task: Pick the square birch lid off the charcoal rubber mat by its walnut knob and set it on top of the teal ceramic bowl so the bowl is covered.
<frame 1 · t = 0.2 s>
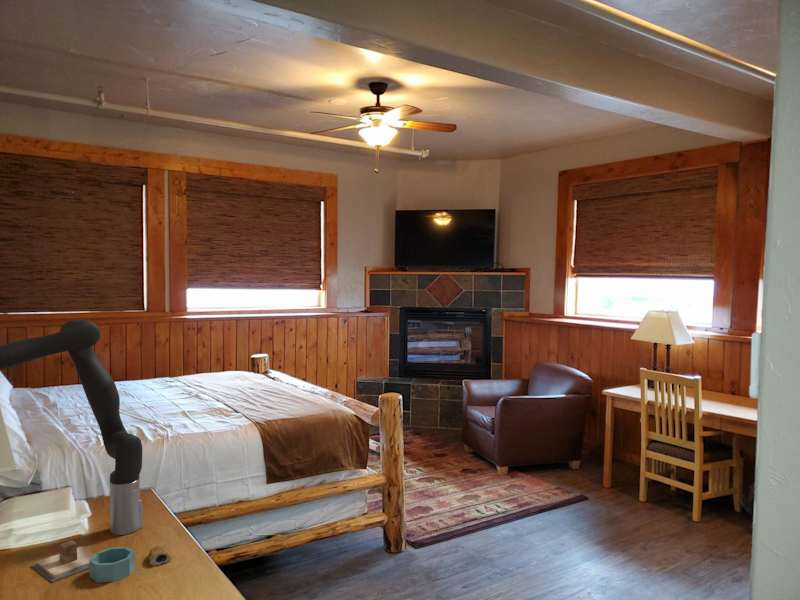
mat: (68, 564, 177), on the table
pastry: (159, 560, 181), on the table
lid: (68, 563, 177), resting on mat
bowl: (112, 572, 173), on the table
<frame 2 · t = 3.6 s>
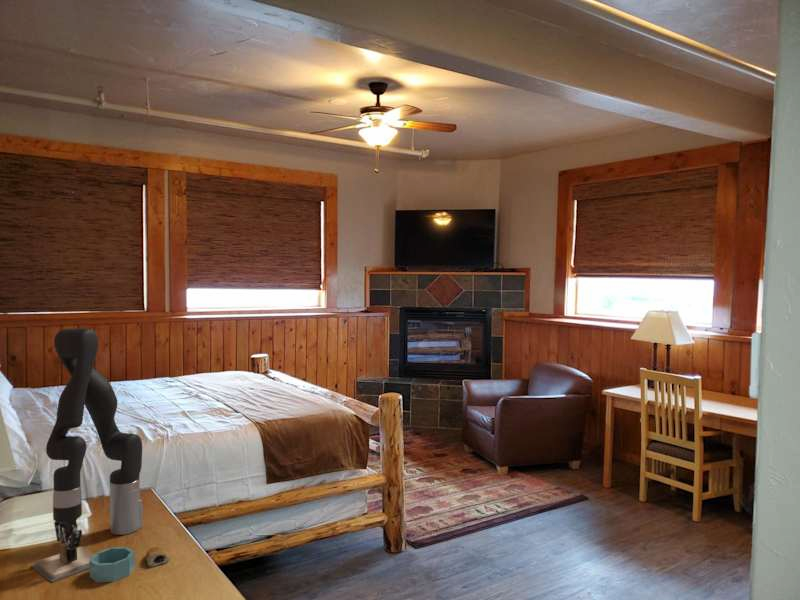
hand: (68, 558, 177), 2 cm above the table, fingers closed on lid, 3 cm apart
lid: (68, 563, 177), resting on mat, touching gripper
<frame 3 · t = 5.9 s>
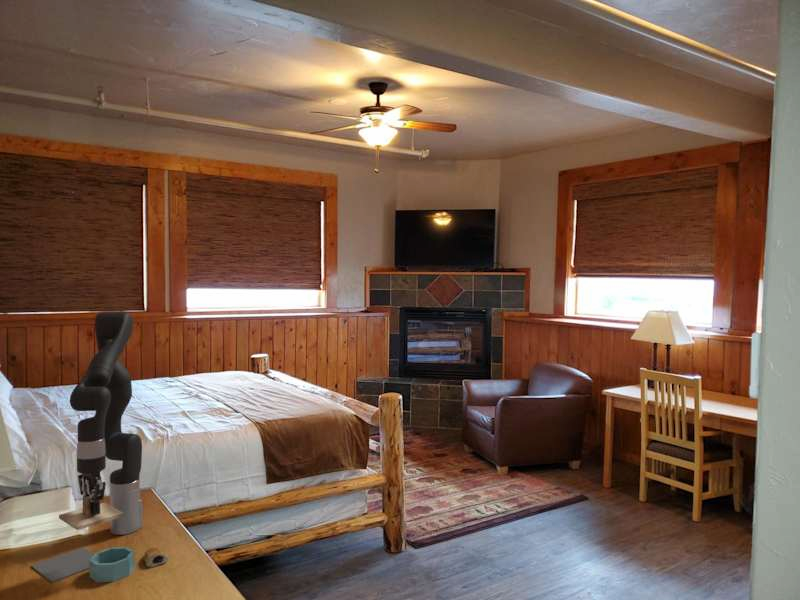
hand: (91, 511, 174), 17 cm above the table, fingers closed on lid, 3 cm apart
lid: (91, 517, 174), point 16 cm above the table, touching gripper
when the fingers open (8 cm above the table, at t = 8.4 s): lid drops 1 cm, resting on bowl.
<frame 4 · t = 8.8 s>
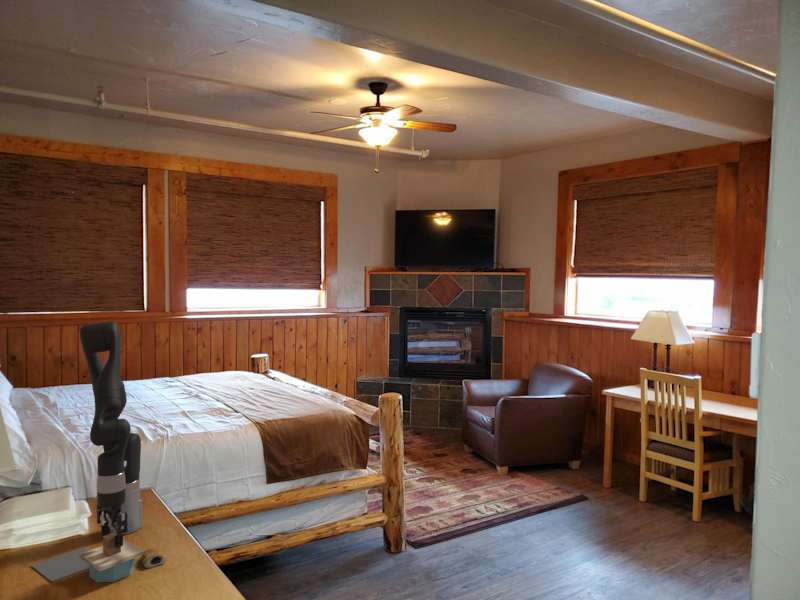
hand: (112, 543, 172), 9 cm above the table, fingers open, 7 cm apart
lid: (112, 555, 173), point 5 cm above the table, touching bowl
bowl: (112, 572, 173), on the table, touching lid
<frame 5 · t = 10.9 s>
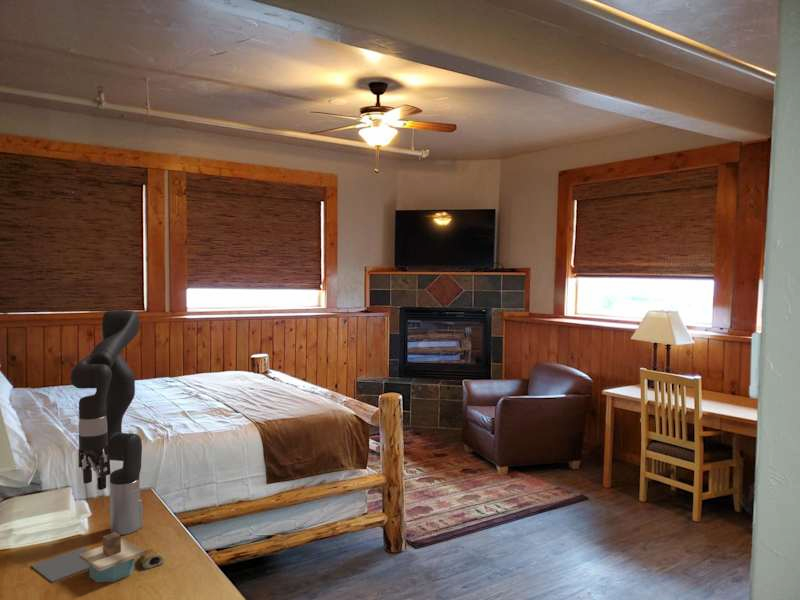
hand: (94, 485, 173), 25 cm above the table, fingers open, 8 cm apart
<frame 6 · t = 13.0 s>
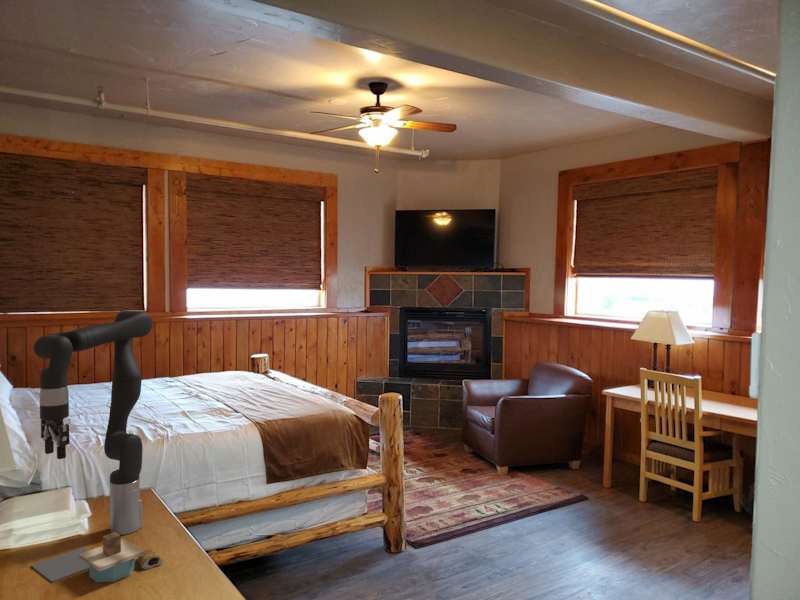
hand: (55, 455, 176), 33 cm above the table, fingers open, 8 cm apart
at the end: lid 0.1 cm off-centre on the bowl, point 5.0 cm above the bowl's base; lid tilted 0°; the gripper is holding nothing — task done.
